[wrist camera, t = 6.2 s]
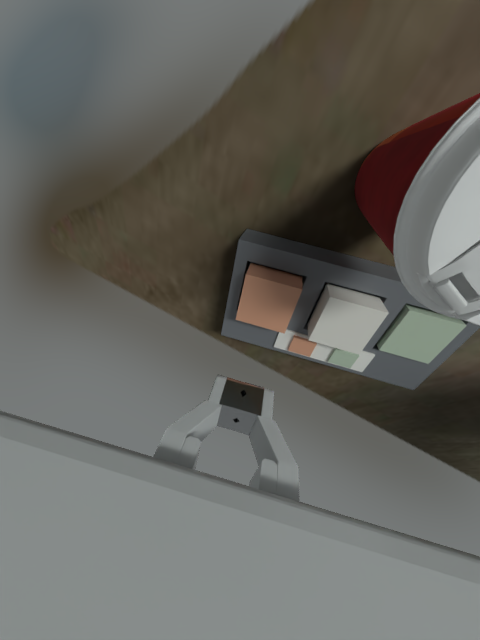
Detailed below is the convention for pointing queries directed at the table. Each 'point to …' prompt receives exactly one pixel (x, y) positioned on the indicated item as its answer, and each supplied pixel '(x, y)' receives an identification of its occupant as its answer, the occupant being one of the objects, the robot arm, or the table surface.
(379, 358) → the keypad housing
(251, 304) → the key terracotta
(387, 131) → the table surface
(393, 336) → the key sage
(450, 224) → the paper cup
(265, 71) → the table surface
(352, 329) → the key white
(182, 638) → the robot arm
